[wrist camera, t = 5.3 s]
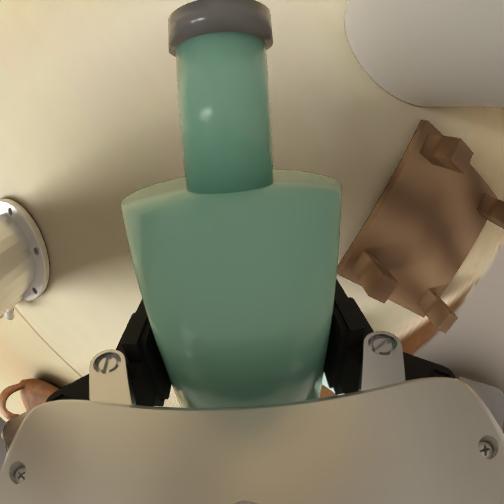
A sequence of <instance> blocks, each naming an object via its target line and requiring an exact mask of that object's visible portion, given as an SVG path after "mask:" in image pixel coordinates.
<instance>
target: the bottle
mask: <svg viewBox="0 0 504 504" xmlns="http://www.w3.org/2000/svg"><path fill="white" fill-rule="evenodd" d="M168 30H169V53H170V54H171V55H173V56H175V57H176V59H177V82H178V100H179V115H180V128H181V140H182V151H183V161H184V171H185V177H181V178H177V179H172V180H168V181H164V182H161V183H157V184H154V185H151V186H148V187H145V188H143V189H140V190H138V191H136V192H134V193H132V194H130V195H129V196H127V197H126V198H125V199H124V200H123V201H122V202H121V208H122V214H123V219H124V224H125V229H126V234H127V239H128V243H129V248H130V252H131V256H132V260H133V265H134V269H135V273H136V276H137V280H138V284H139V288H140V291H141V295H142V298H143V302H144V305H145V309H146V312H147V315H148V319H149V322H150V325H151V328H152V331H153V334H154V337H155V340H156V343H157V346H158V349H159V352H160V355H161V357H162V360H163V363H164V366H165V368H166V371H167V374H168V376H169V379H170V381H171V384H172V386H173V389H174V391H175V394H176V396H177V399H178V401H179V403H180V406H181V408H223V407H245V406H260V405H271V404H281V403H290V402H298V401H305V400H312V399H319V396H320V391H321V386H322V380H323V375H324V369H325V363H326V356H327V350H328V343H329V336H330V329H331V321H332V313H333V304H334V295H335V285H336V275H337V263H338V250H339V234H340V213H341V184H340V183H339V182H338V181H337V180H335V179H333V178H330V177H328V176H324V175H320V174H316V173H310V172H303V171H294V170H279V169H273V157H272V137H271V119H270V102H269V86H268V71H267V57H266V50H267V49H269V48H270V47H271V46H272V44H273V37H272V26H271V15H270V10H269V9H268V8H267V7H266V6H265V5H264V4H262V3H260V2H257V1H255V0H197V1H194V2H191V3H188V4H186V5H183V6H182V7H180V8H178V9H177V10H175V11H174V12H173V13H172V14H171V15H170V17H169V19H168Z"/></svg>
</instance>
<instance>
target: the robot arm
mask: <svg viewBox="0 0 504 504" xmlns="http://www.w3.org/2000/svg"><path fill="white" fill-rule="evenodd" d="M48 280H49V259H48V255H47V250H46V247H45V244H44V240H43V238H42V236H41V233H40V231H39V229H38V227H37V225H36V224H35V222H34V220H33V219H32V217H31V216H30V215H29V213H28V212H27V211H26V210H25V209H24V208H23V207H22V206H21V205H20V204H18V203H17V202H15V201H13V200H10V199H0V318H2V317H3V316H4V312H5V314H6V318H7V319H8V320H12V319H14V308H13V307H14V306H15V305H16V304H17V303H18V302H19V301H20V300H23V301H31V300H34V299H36V298H37V297H39V296H40V295H41V294H42V293H43V292H44V290H45V288H46V286H47V284H48ZM324 374H325V377H326V380H327V383H328V386H329V388H334V391H335V394H336V395H337V396H331V397H325V398H319V399H312V400H305V401H298V402H290V403H281V404H271V405H260V406H245V407H223V408H175V407H154V406H163V405H164V400H165V399H168V398H169V394H170V389H171V381H170V379H169V376H168V374H167V371H166V368H165V366H164V363H163V360H162V357H161V355H160V352H159V349H158V346H157V343H156V340H155V337H154V334H153V331H152V328H151V325H150V322H149V319H148V315H147V312H146V309H145V305H144V302H143V298H142V300H141V303H140V305H139V307H138V309H137V311H136V313H133V314H132V316H131V318H130V320H129V322H128V324H127V327H126V329H125V331H124V333H123V335H122V337H121V339H120V342H119V344H118V346H117V348H116V350H113V349H111V350H105V351H102V352H100V353H98V354H97V355H95V356H94V357H93V359H92V360H91V362H90V367H89V374H88V375H86V376H84V377H82V378H80V379H78V380H76V381H74V382H73V383H71V384H69V385H67V386H65V387H63V388H61V389H59V390H57V391H55V392H54V393H52V394H51V395H50V396H49V397H48V398H47V400H46V402H45V403H43V404H40V405H38V406H36V407H34V408H33V409H31V410H29V411H27V412H25V413H23V414H21V415H19V416H16V417H14V418H12V419H10V420H9V421H7V422H6V424H5V425H4V427H3V438H4V443H5V446H6V451H7V455H6V458H5V461H4V463H3V466H2V470H1V472H0V504H504V434H503V432H502V426H503V419H504V395H503V393H502V392H501V391H500V390H499V389H497V388H495V387H492V386H489V385H485V384H482V383H479V382H475V381H472V380H469V379H465V378H462V377H460V378H459V379H456V378H455V376H454V374H453V372H452V371H451V370H449V369H448V368H446V367H444V366H442V365H439V364H436V363H433V362H430V361H427V360H424V359H421V358H418V357H416V356H413V355H410V354H407V353H404V352H403V350H402V344H401V341H400V340H399V339H398V337H396V336H395V335H393V334H391V333H389V332H384V331H376V332H374V331H373V330H372V328H371V326H370V325H369V323H368V321H367V320H366V318H365V316H364V315H363V313H362V312H361V310H360V308H359V307H358V305H357V303H356V302H355V300H354V299H353V298H351V297H350V298H348V297H347V295H346V294H345V292H344V290H343V289H342V287H341V285H340V284H339V282H338V281H337V279H336V285H335V295H334V304H333V313H332V321H331V329H330V336H329V343H328V350H327V356H326V363H325V369H324ZM338 394H342V395H338Z"/></svg>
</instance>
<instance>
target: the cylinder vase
mask: <svg viewBox="0 0 504 504" xmlns="http://www.w3.org/2000/svg"><path fill="white" fill-rule="evenodd" d="M344 23H345V31H346V35H347V39H348V42H349V44H350V47H351V49H352V51H353V53H354V55H355V57H356V58H357V60H358V62H359V63H360V65H361V66H362V67H363V69H364V70H365V71H366V72H367V74H368V75H369V76H370V77H371V78H372V79H373V80H374V81H375V82H376V83H377V84H378V85H379V86H380V87H382V88H383V89H384V90H386V91H387V92H388V93H390V94H391V95H393V96H394V97H396V98H398V99H400V100H402V101H404V102H407V103H410V104H413V105H417V106H424V107H436V106H474V107H496V108H504V0H349V2H348V4H347V6H346V10H345V17H344Z"/></svg>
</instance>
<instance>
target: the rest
mask: <svg viewBox="0 0 504 504" xmlns="http://www.w3.org/2000/svg"><path fill="white" fill-rule="evenodd" d="M472 155H473V152H472V151H471V150H470V149H469V147H468V146H467V145H466V144H465V143H464V142H463V141H462V140H461V139H459V138H453V137H446V136H443V135H442V134H441V133H440V132H439V131H438V130H437V129H436V128H435V127H434V126H433V125H432V124H430V123H429V122H428V121H424V120H421V122H420V124H419V126H418V128H417V130H416V132H415V134H414V136H413V138H412V140H411V142H410V144H409V146H408V148H407V150H406V152H405V154H404V156H403V158H402V159H401V161H400V163H399V165H398V167H397V169H396V171H395V172H394V174H393V176H392V178H391V180H390V181H389V183H388V185H387V187H386V188H385V190H384V192H383V194H382V195H381V197H380V199H379V201H378V202H377V204H376V206H375V207H374V209H373V211H372V212H371V214H370V216H369V217H368V219H367V221H366V222H365V224H364V226H363V227H362V229H361V230H360V232H359V234H358V235H357V237H356V238H355V240H354V242H353V243H352V245H351V246H350V248H349V249H348V251H347V253H346V254H345V256H344V257H343V259H342V260H341V262H340V263H339V265H338V266H337V273H338V275H340V276H342V277H344V278H346V279H348V280H350V281H352V282H354V283H357V284H359V285H361V286H362V287H363V288H364V290H365V291H366V293H367V294H368V296H370V297H372V298H374V299H376V300H378V301H380V302H382V303H385V302H386V301H387V299H389V300H391V301H393V302H395V303H397V304H399V305H401V306H403V307H405V308H407V309H409V310H410V311H412V312H414V313H416V314H418V315H420V316H422V317H425V315H426V316H427V317H428V318H429V320H430V321H431V322H432V323H433V325H434V326H435V327H436V329H437V330H440V331H442V332H444V333H446V332H447V331H448V330H449V329H450V327H451V326H452V325H453V323H454V322H455V321H456V320H457V316H456V315H455V314H454V313H453V312H452V311H451V309H450V308H449V307H448V306H447V305H446V304H445V303H444V302H443V301H442V299H441V298H440V295H441V294H442V293H443V291H444V290H445V288H446V287H447V286H448V284H449V283H450V281H451V280H452V278H453V277H454V275H455V274H456V272H457V271H458V269H459V268H460V266H461V264H462V263H463V261H464V260H465V258H466V256H467V255H468V253H469V251H470V250H471V248H472V246H473V245H474V243H475V241H476V239H477V238H478V236H479V234H480V232H481V230H482V228H483V227H484V225H485V223H486V221H487V220H489V221H491V222H493V223H494V224H496V225H498V226H500V227H501V228H503V229H504V202H503V201H501V200H498V199H497V197H496V195H495V194H494V193H493V191H492V190H491V189H490V188H489V186H488V185H487V184H486V183H485V181H484V180H483V179H482V178H481V176H480V175H479V174H478V173H477V172H476V170H475V169H474V168H473V167H472V166H471V165H470V163H469V162H470V160H471V158H472Z"/></svg>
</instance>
